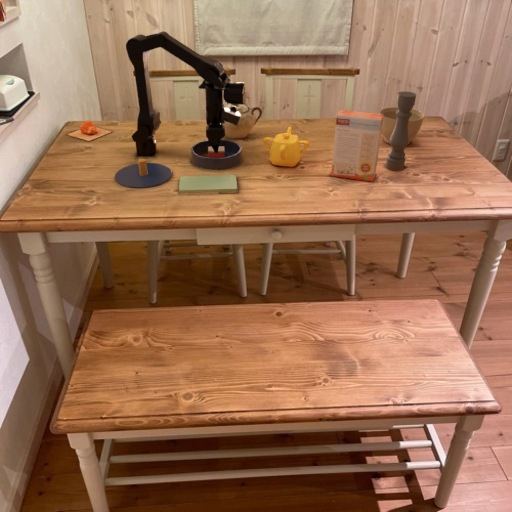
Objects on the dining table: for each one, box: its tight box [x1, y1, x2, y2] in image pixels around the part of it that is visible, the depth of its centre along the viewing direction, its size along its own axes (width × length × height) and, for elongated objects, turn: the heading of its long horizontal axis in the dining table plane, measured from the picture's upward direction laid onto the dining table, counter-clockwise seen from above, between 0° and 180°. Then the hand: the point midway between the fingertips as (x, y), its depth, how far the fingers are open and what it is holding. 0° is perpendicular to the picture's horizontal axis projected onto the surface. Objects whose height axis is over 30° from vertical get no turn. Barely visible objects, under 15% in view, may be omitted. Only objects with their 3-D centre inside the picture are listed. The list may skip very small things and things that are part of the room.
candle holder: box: [385, 91, 417, 172], centre depth 171 cm, size 6×6×25 cm
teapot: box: [262, 125, 310, 168], centre depth 178 cm, size 14×13×10 cm
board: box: [178, 174, 238, 194], centre depth 164 cm, size 18×10×2 cm, turn 94°
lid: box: [114, 158, 173, 189], centre depth 168 cm, size 18×18×6 cm
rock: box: [66, 120, 112, 142], centre depth 200 cm, size 12×12×4 cm
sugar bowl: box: [222, 104, 263, 139], centre depth 197 cm, size 20×15×15 cm
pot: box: [190, 138, 243, 171], centre depth 180 cm, size 17×17×4 cm
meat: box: [207, 146, 225, 158], centre depth 180 cm, size 6×4×4 cm
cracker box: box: [330, 109, 384, 183], centre depth 166 cm, size 14×6×21 cm, turn 71°
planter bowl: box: [379, 106, 425, 145], centre depth 194 cm, size 16×16×11 cm
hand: (216, 147), depth 178 cm, fingers open, 9 cm apart
